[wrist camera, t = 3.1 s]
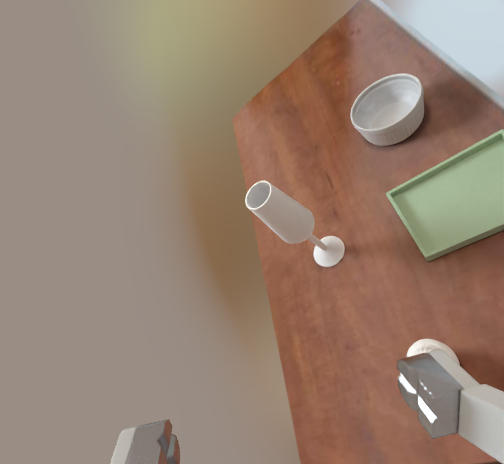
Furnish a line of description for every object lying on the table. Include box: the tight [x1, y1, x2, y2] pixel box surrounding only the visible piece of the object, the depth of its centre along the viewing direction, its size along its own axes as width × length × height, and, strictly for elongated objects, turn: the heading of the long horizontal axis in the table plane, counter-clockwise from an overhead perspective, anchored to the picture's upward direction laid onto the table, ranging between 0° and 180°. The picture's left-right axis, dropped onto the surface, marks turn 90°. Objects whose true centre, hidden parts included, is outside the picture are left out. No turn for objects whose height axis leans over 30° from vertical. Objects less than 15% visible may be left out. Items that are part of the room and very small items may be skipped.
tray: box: [386, 129, 504, 262], centre depth 47 cm, size 19×14×2 cm
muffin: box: [407, 339, 460, 365], centre depth 39 cm, size 6×6×7 cm
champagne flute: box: [245, 181, 345, 267], centre depth 51 cm, size 7×7×24 cm
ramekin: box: [351, 74, 424, 146], centre depth 59 cm, size 13×13×7 cm
